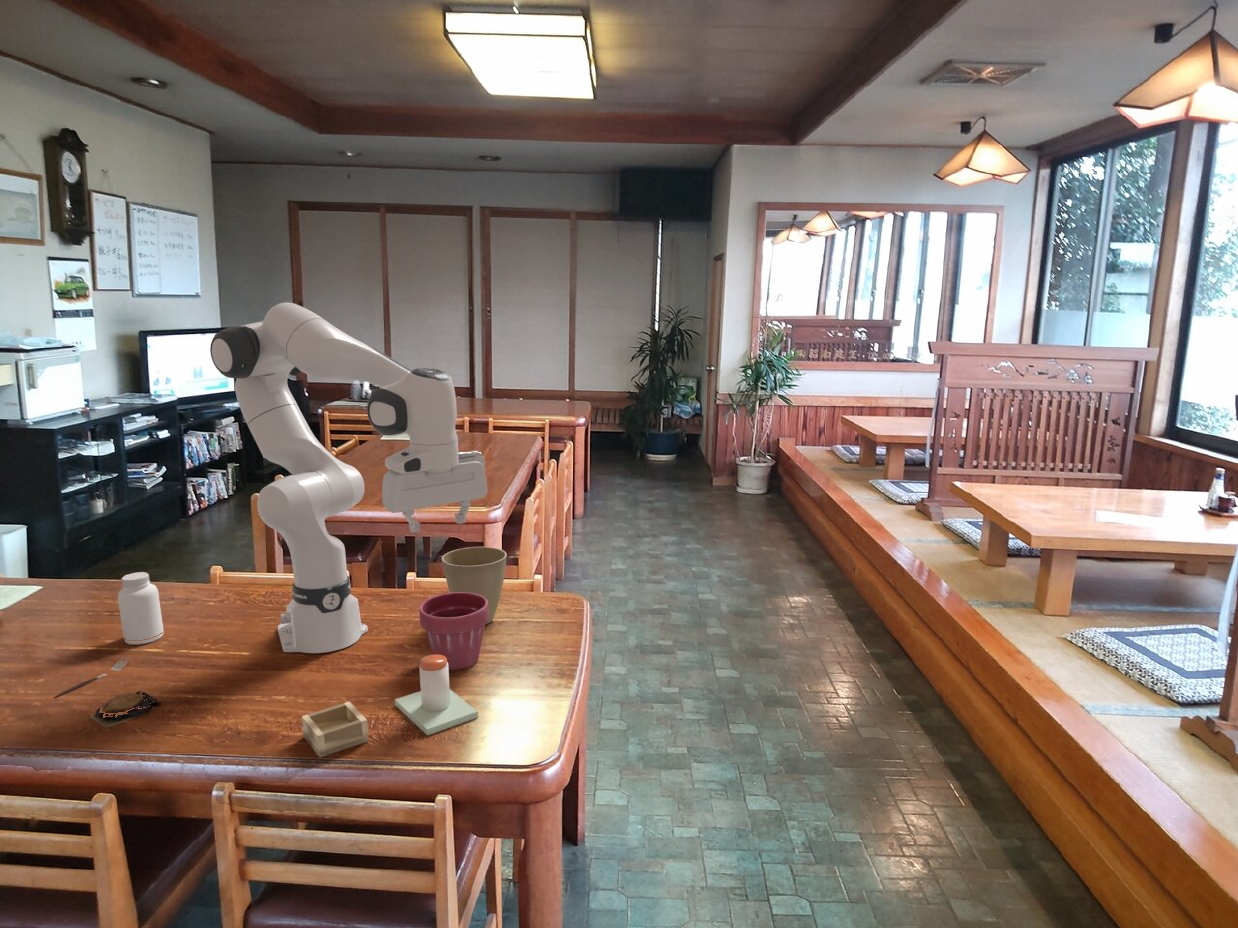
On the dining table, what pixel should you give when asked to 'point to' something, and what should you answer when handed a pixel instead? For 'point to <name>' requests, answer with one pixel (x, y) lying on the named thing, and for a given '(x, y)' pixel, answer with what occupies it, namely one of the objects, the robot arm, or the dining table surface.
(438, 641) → the plant pot
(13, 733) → the dining table surface
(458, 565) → the plant pot
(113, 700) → the sandwich
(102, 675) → the fork
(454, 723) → the pale green flat slab
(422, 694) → the shaker
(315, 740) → the holder
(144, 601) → the pill bottle
